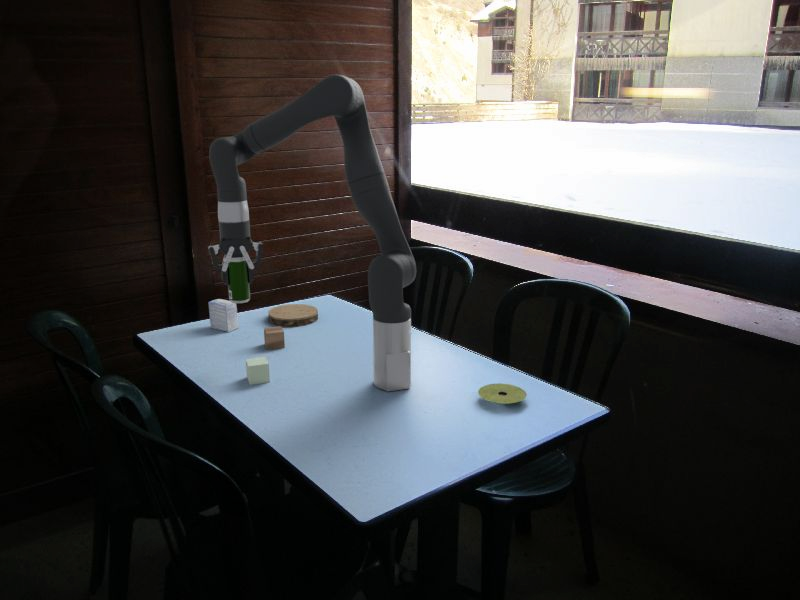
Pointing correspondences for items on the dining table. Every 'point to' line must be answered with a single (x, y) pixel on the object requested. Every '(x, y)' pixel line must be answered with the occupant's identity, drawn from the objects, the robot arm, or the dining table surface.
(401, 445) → the dining table surface
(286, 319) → the round wood slice
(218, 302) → the medicine box
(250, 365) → the sage block
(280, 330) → the walnut block
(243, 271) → the beer can
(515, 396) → the olive yellow disc
